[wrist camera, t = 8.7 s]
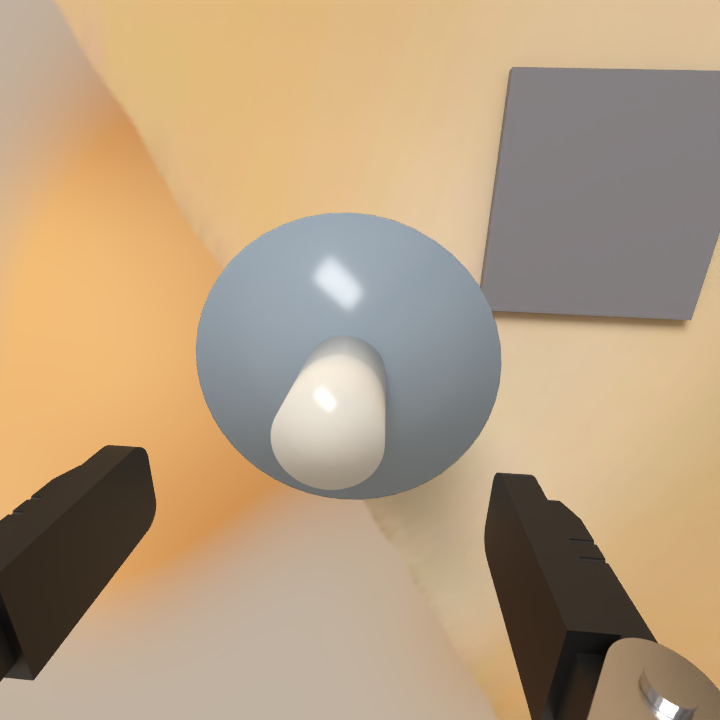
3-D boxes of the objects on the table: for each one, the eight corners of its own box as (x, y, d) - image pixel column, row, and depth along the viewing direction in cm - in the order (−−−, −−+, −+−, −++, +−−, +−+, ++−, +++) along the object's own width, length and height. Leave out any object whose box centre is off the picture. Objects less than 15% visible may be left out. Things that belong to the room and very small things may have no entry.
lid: (514, 219, 15) (601, 222, 9) (471, 487, 19) (510, 616, 13) (197, 207, 15) (74, 202, 9) (223, 469, 20) (149, 584, 14)
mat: (762, 75, 23) (771, 71, 22) (684, 317, 27) (690, 320, 27) (509, 70, 23) (512, 67, 23) (477, 308, 28) (479, 310, 27)
